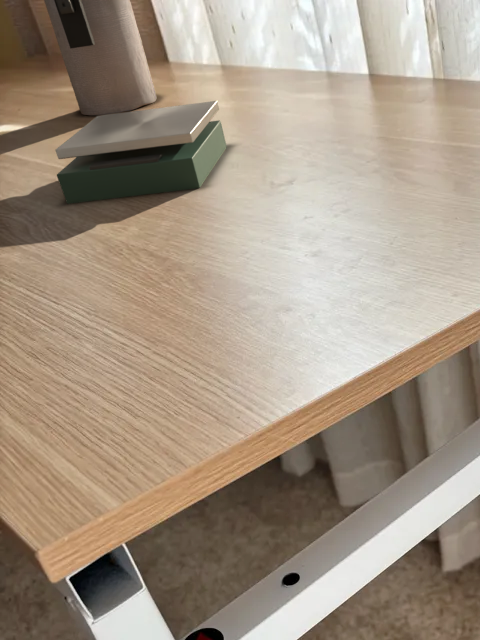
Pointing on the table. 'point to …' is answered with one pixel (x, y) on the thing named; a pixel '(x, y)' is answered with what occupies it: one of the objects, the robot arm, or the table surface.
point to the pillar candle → (106, 59)
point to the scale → (143, 169)
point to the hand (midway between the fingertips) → (100, 36)
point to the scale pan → (139, 130)
